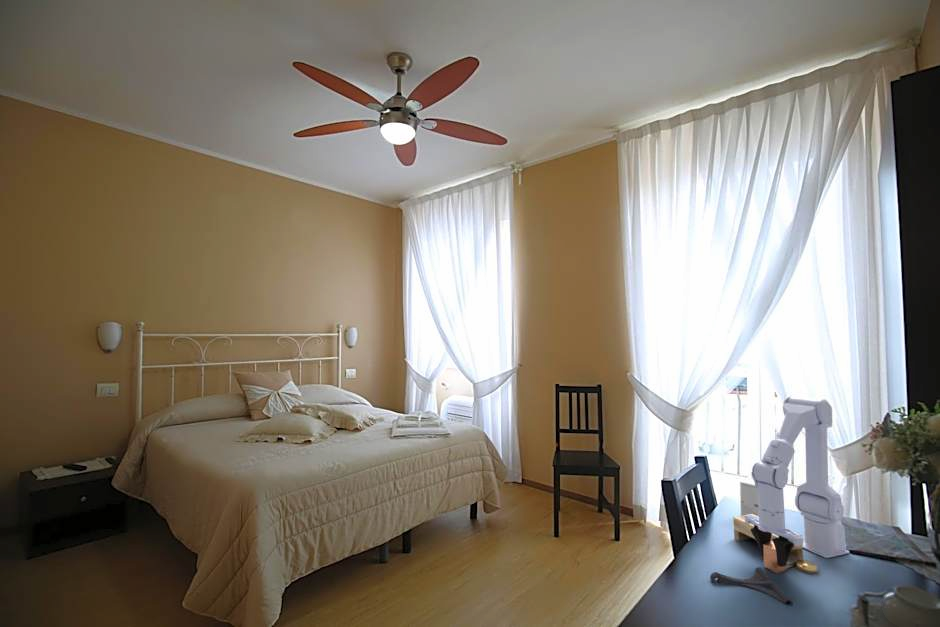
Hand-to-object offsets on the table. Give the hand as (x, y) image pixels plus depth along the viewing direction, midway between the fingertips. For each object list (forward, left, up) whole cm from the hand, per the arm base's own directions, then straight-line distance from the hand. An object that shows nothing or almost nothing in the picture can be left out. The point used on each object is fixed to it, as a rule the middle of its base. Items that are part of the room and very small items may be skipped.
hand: (773, 561), depth 113 cm
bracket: (+14, +3, -3) cm, 14 cm away
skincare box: (-23, -25, -2) cm, 35 cm away
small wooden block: (-4, -1, -2) cm, 5 cm away
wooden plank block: (-9, -9, -2) cm, 13 cm away
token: (-8, +2, -2) cm, 9 cm away
